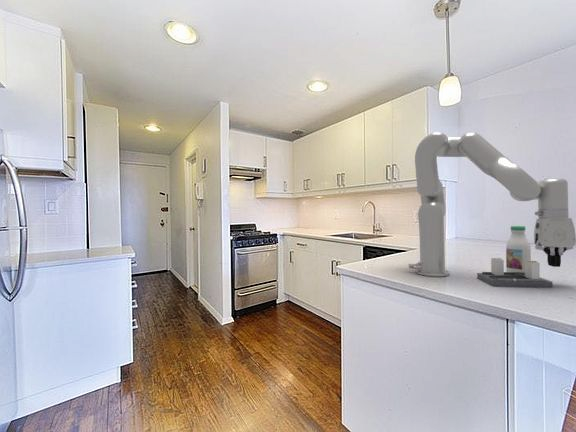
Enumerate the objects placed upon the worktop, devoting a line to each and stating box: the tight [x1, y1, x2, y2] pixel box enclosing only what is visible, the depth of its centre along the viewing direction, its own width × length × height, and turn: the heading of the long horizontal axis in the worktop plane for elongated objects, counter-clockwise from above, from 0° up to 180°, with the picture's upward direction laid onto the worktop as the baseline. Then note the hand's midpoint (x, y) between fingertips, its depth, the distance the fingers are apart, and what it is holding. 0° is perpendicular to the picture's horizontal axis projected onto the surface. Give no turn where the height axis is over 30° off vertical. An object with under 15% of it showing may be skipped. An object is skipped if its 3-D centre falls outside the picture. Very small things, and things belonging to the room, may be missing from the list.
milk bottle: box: [505, 225, 532, 272], centre depth 110 cm, size 8×8×20 cm
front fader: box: [525, 260, 541, 279], centre depth 96 cm, size 2×4×6 cm
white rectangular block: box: [490, 257, 505, 275], centre depth 103 cm, size 2×4×6 cm
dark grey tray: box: [476, 271, 553, 289], centre depth 100 cm, size 18×12×3 cm, turn 79°
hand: (554, 265), depth 95 cm, fingers closed
